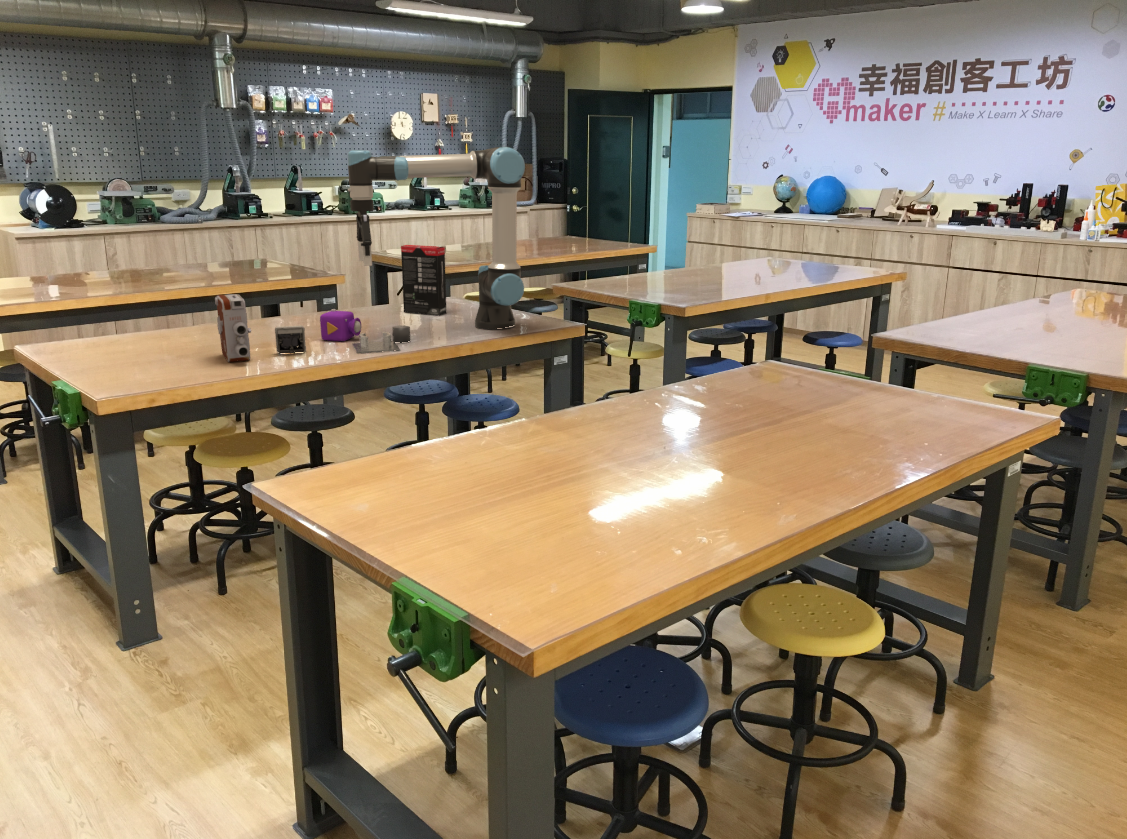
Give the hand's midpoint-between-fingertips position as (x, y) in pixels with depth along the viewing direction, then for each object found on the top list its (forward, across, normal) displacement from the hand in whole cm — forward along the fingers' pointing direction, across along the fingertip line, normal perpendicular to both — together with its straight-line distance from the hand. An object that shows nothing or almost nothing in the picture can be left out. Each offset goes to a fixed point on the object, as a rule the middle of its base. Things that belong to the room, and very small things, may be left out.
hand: (365, 263), depth 306 cm
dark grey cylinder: (+27, +3, +11) cm, 29 cm away
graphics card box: (+27, -49, +28) cm, 63 cm away
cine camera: (+27, +16, -43) cm, 54 cm away
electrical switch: (+27, +12, -26) cm, 40 cm away
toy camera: (+27, -6, -8) cm, 29 cm away
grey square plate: (+27, +11, +1) cm, 29 cm away
